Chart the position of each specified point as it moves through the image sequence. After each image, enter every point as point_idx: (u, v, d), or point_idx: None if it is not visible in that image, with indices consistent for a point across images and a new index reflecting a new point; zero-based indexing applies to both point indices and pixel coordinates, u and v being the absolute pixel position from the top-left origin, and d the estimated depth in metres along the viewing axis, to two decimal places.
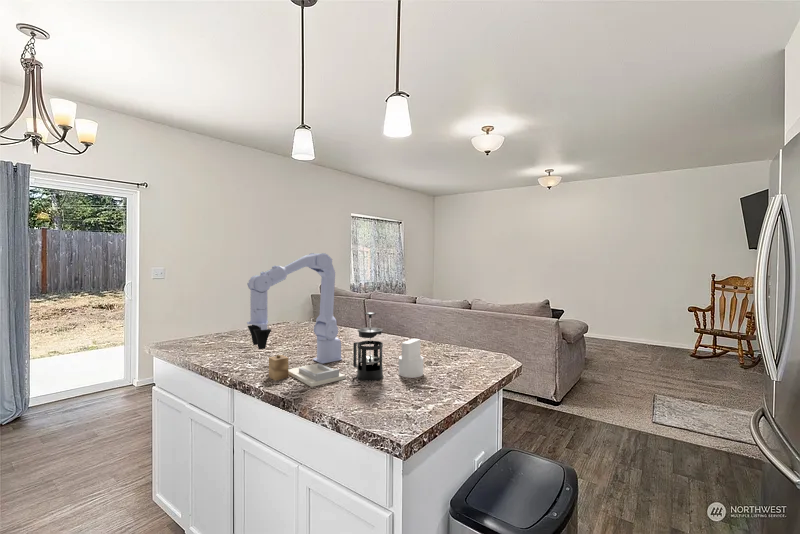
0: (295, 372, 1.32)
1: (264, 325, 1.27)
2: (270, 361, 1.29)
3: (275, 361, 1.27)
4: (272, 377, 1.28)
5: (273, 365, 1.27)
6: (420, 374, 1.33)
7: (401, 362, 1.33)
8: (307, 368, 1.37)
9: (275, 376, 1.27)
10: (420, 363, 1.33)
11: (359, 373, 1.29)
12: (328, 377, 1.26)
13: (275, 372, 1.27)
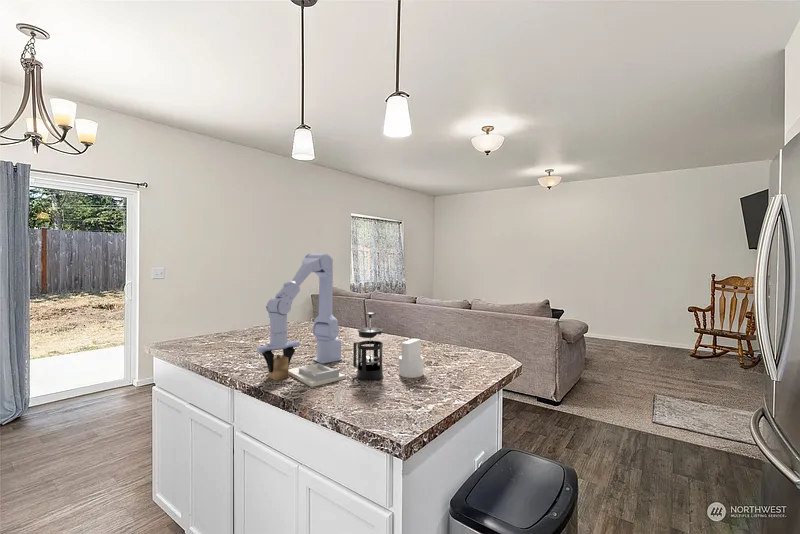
0: (295, 372, 1.32)
1: (258, 348, 1.25)
2: None
3: (275, 361, 1.27)
4: (272, 377, 1.28)
5: (273, 365, 1.27)
6: (420, 374, 1.33)
7: (401, 362, 1.33)
8: (307, 368, 1.37)
9: (275, 376, 1.27)
10: (420, 363, 1.33)
11: (359, 373, 1.29)
12: (328, 377, 1.26)
13: (275, 372, 1.27)
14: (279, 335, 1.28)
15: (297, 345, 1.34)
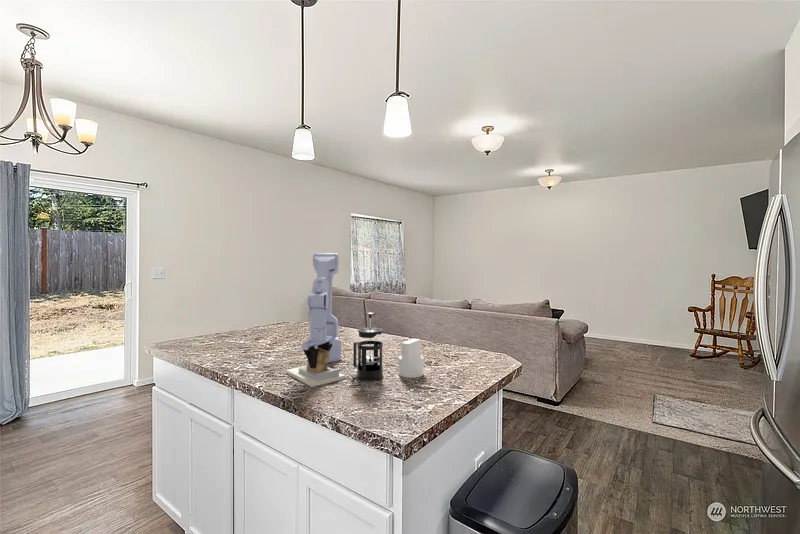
0: (295, 372, 1.32)
1: (304, 345, 1.24)
2: None
3: (320, 354, 1.27)
4: (314, 370, 1.28)
5: (317, 358, 1.28)
6: (420, 374, 1.33)
7: (401, 362, 1.33)
8: None
9: (318, 369, 1.28)
10: (420, 363, 1.33)
11: (359, 373, 1.29)
12: (328, 377, 1.26)
13: (319, 366, 1.27)
14: (322, 330, 1.28)
15: (331, 339, 1.36)
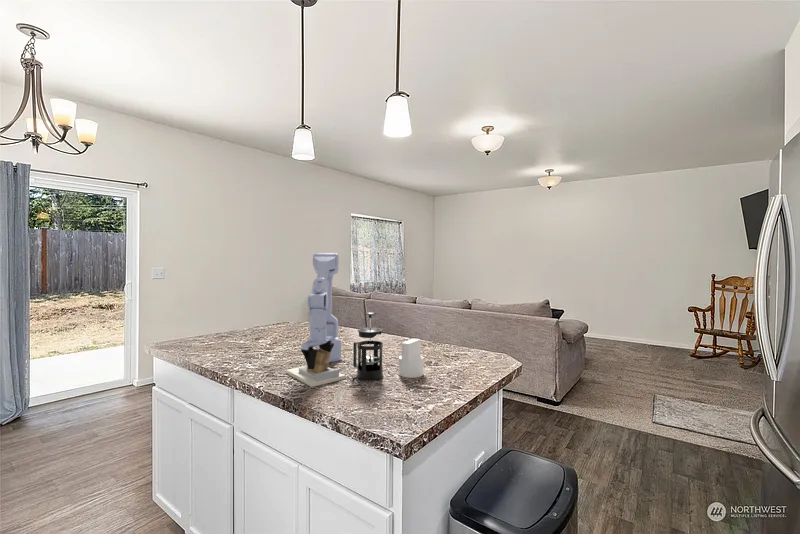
0: (295, 372, 1.32)
1: (304, 345, 1.24)
2: None
3: (321, 355, 1.28)
4: (314, 370, 1.28)
5: (318, 359, 1.28)
6: (420, 374, 1.33)
7: (401, 362, 1.33)
8: None
9: (318, 370, 1.28)
10: (420, 363, 1.33)
11: (359, 373, 1.29)
12: (328, 377, 1.26)
13: (319, 366, 1.28)
14: (322, 330, 1.28)
15: (331, 340, 1.36)
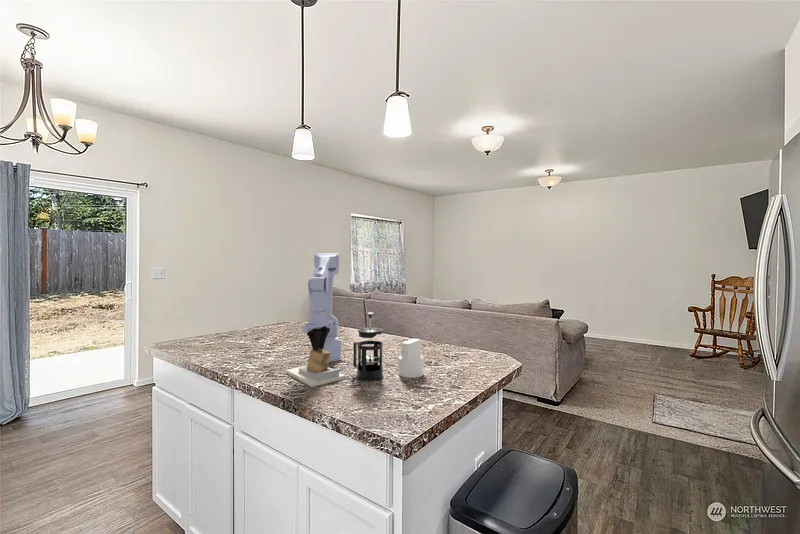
0: (295, 372, 1.32)
1: (304, 327, 1.24)
2: (313, 354, 1.29)
3: (321, 355, 1.28)
4: (314, 370, 1.28)
5: (318, 359, 1.28)
6: (420, 374, 1.33)
7: (401, 362, 1.33)
8: None
9: (318, 370, 1.28)
10: (420, 363, 1.33)
11: (359, 373, 1.29)
12: (328, 377, 1.26)
13: (319, 366, 1.28)
14: (322, 313, 1.28)
15: (331, 324, 1.36)
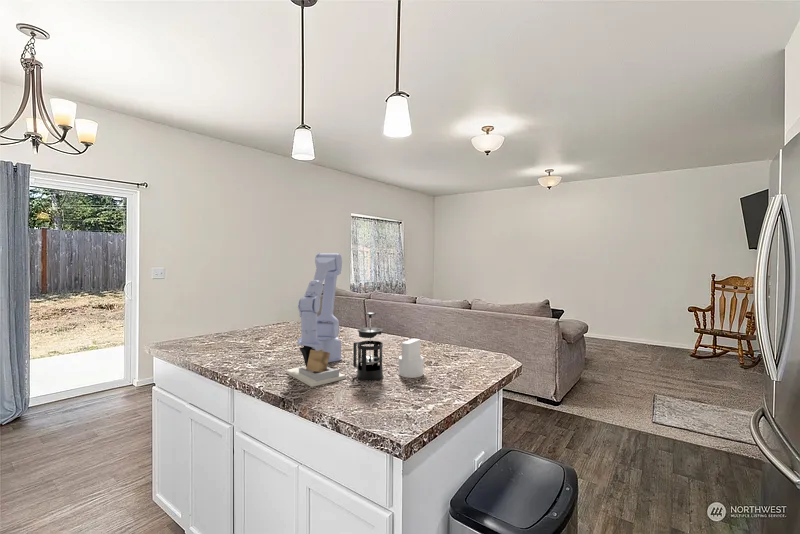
0: (295, 372, 1.32)
1: (319, 346, 1.30)
2: (313, 353, 1.31)
3: (322, 352, 1.30)
4: (314, 369, 1.28)
5: (319, 356, 1.29)
6: (420, 374, 1.33)
7: (401, 362, 1.33)
8: None
9: (319, 367, 1.28)
10: (420, 363, 1.33)
11: (359, 373, 1.29)
12: (328, 377, 1.26)
13: (319, 363, 1.28)
14: None
15: None
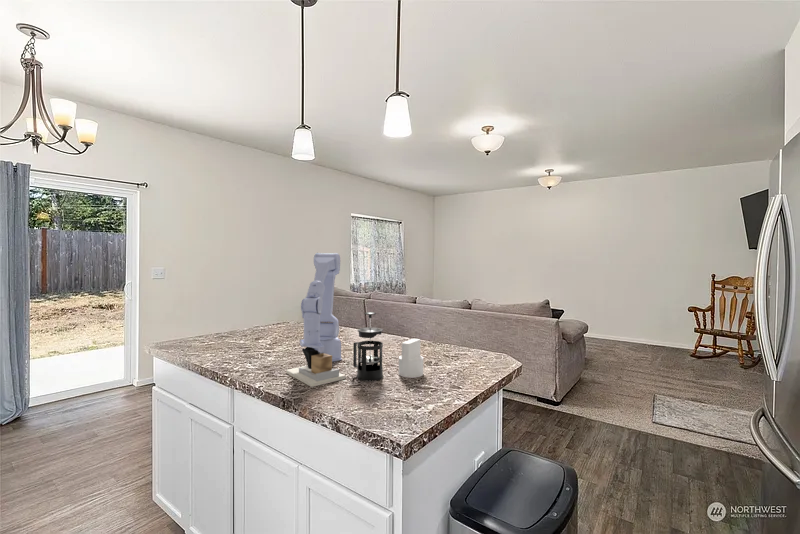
0: (295, 372, 1.32)
1: (322, 347, 1.29)
2: (314, 359, 1.27)
3: (320, 359, 1.25)
4: None
5: (318, 363, 1.26)
6: (420, 374, 1.33)
7: (401, 362, 1.33)
8: (307, 368, 1.37)
9: None
10: (420, 363, 1.33)
11: (359, 373, 1.29)
12: (328, 377, 1.26)
13: (320, 371, 1.25)
14: None
15: None
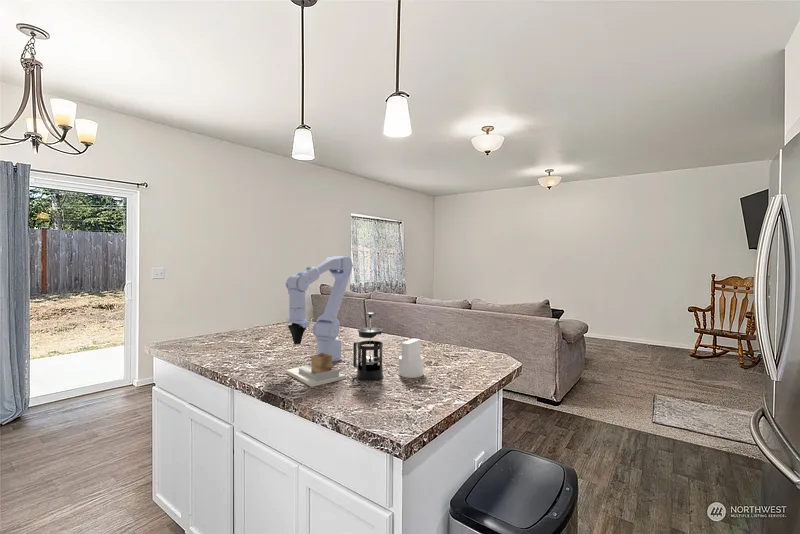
0: (295, 372, 1.32)
1: (306, 323, 1.33)
2: (314, 359, 1.27)
3: (320, 359, 1.25)
4: None
5: (318, 363, 1.26)
6: (420, 374, 1.33)
7: (401, 362, 1.33)
8: (307, 368, 1.37)
9: None
10: (420, 363, 1.33)
11: (359, 373, 1.29)
12: (328, 377, 1.26)
13: (320, 371, 1.25)
14: None
15: None
